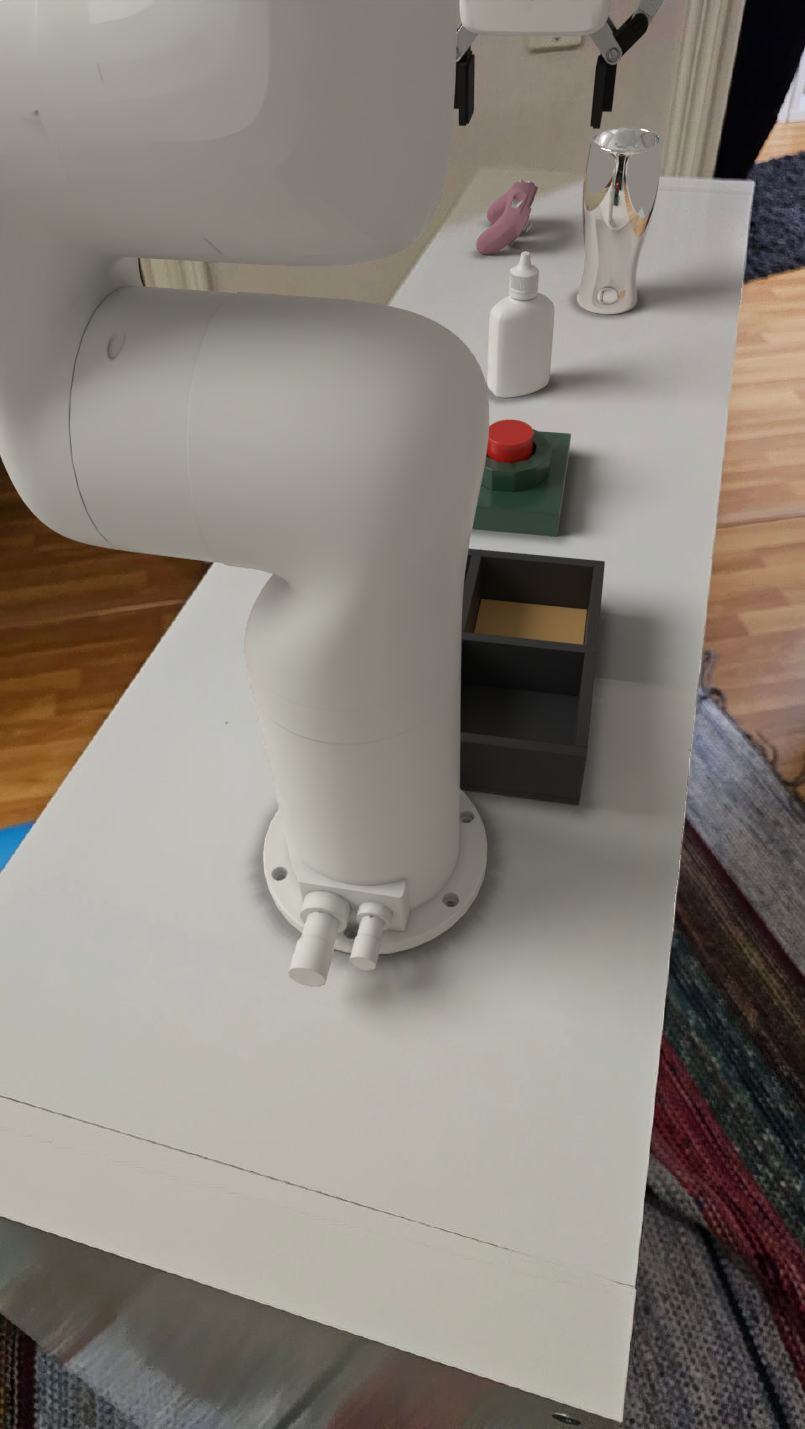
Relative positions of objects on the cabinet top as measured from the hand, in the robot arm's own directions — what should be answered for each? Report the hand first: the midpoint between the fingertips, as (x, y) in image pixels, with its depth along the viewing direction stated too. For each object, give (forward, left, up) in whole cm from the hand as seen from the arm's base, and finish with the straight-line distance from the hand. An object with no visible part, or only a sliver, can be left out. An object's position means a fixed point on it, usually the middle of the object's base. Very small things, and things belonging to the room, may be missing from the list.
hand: (530, 121), depth 71 cm
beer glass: (+19, -7, -22) cm, 30 cm away
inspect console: (-15, -1, -22) cm, 27 cm away
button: (-15, -1, -18) cm, 24 cm away
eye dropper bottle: (+1, 0, -22) cm, 22 cm away
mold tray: (-37, -1, -22) cm, 43 cm away
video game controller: (+33, +5, -22) cm, 40 cm away
